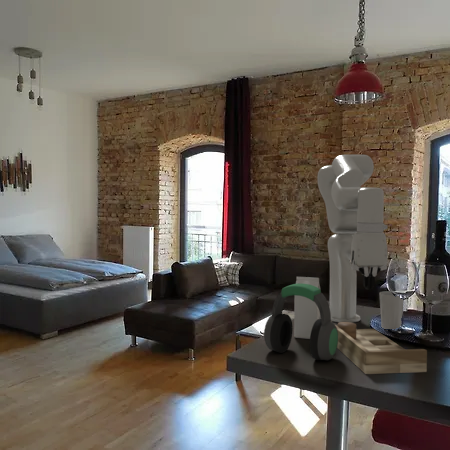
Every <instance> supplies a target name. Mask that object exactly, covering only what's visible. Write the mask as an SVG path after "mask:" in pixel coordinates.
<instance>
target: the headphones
mask: <svg viewBox="0 0 450 450" xmlns="http://www.w3.org/2000/svg"><path fill="white" fill-rule="evenodd" d="M295 295H297V296H303V297H306V298H308V299H310V300H312V301H314V302H315V303H316V305H317V307H318V309H319V312H320V319H318V320H316V321H315V323H314V325H313V327H312V330H311V335H310V339H309V351H310V356H311V357H312V358H313V359H314V360H317V361H330V360H332V359H333V358H334V356H335V355H336V352H337V350H338V348H337V345H338V330H337V327H336V326H337V324H335V323H334V321H331V314H330V303H329V301H328V299H327V298H326V296H325V295H324V294H323V293H322V291H321V288H320V289H319V288H317V287H315V286H313V285H309V284H302V283H298V284H296V283H293V284H290V285H287V286H285V287H282V289H281V292H279V294H278V295H276V298H275V299H274V301H273V304H272V309H271V310H272V312H271V315H270V316H269V317H268V319H267V321H266V323H265V326H264V331H263V337H264V340H263V341H264V344H265V345H266V347H267V348H268V349H269V350H271V351H274V352H276V353H280V354H282V353H283V354H284V353H285V352H286V351H287V350H288V349H289V347H290V345H291V342H292V338H293V333H294V332H293V331H294V327H293V326H294V325H293V321H292V317H291V316H290V315H289V314H288V313H283V309H284V304H285V301H286V299H287V298H288V297H289V296H290V297H291V296H295Z"/></svg>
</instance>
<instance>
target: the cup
mask: <svg viewBox="0 0 450 450" xmlns="http://www.w3.org/2000/svg"><path fill="white" fill-rule="evenodd" d="M391 292H392V291H391V290H390V291H380V292H379V295H378V296H379V306H380V323H381V324H380V326H381V327H382V328H384V329H396V328H399V327H400V326H401V327H402V321H401V318H402V319H403V311H404V310H403V308H404V300H405V299H404V300H403V299H401V298H400V297H399V296H396V297H395V296H394V295H393V294H392V293H391ZM381 327H380V328H381ZM382 328H381V329H382ZM384 329H383V330H384Z"/></svg>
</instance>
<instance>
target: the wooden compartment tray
mask: <svg viewBox="0 0 450 450" xmlns="http://www.w3.org/2000/svg"><path fill="white" fill-rule="evenodd" d="M336 327H337V330H338V345H337V350H339V351H340V352H341V353H342V354H343V355H344V356H345V357H346V358H348V359H349V361H351V362H352V363H353V364H354V366H355V365H356V367H357V368H358V369H359V370H361V371H362V373H364V374H365V375H375V374H376V375H377V374H400V373H402V374H403V373H405V374H407V373H427V370H428V369H427V365H428V350H427V349H425V348H414V349H413V348H412V349H410V348H409V349H405V348H404V347H402V346H401V345H400V344H397V343H396V342H394V341H393V340H391V339H390V338H388V337H387V336H385V335H384V334H382V333H381V332H379V331H378V330H376V329H375V328H356V339H355V340H354V339H353V338H352V337H350V336H349V335H348V334H347V333H345V332H344V331H343V330H342V329H340V328H339V327H338V325H336Z"/></svg>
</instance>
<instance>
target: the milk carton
mask: <svg viewBox="0 0 450 450" xmlns="http://www.w3.org/2000/svg"><path fill="white" fill-rule="evenodd" d="M298 283H302V284H309V285H313V286H315V287H317V288H319V289H320V290H321V286H320V278H319V277H309V276H307V277H306V276H296V281H295V284H298ZM293 304H294V308H293V309H294V313H293V318H294V319H293V322H294V323H293V324H294V325H293V326H294V327H293V331H294V332H293V333H294V334H293V336H294V338H297V339H306V340H310V335H311V330H312V327H313V325H314V323H315V321H316V320H318V319H321V316H320V312H319V309H318V307H317V305H316V303H315V302H314V301H312V300H310V299H308V298H306V297H303V296H297V295H294V303H293Z"/></svg>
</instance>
